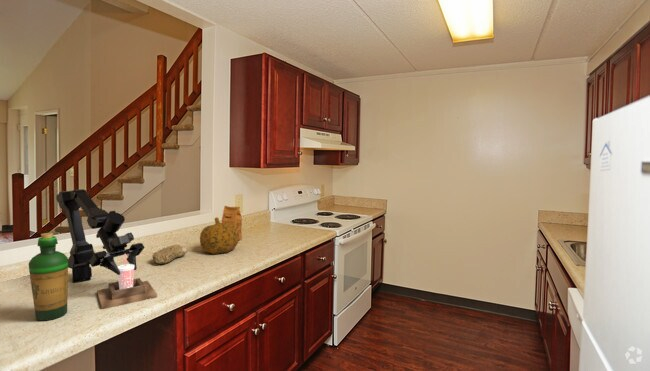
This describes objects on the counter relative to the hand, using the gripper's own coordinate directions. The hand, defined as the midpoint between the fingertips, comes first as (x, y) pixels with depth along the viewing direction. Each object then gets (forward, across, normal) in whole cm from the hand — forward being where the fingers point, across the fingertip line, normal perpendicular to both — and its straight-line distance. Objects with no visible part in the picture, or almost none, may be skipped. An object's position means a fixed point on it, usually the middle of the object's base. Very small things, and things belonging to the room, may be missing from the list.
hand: (127, 271), depth 136 cm
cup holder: (+6, 0, +8) cm, 10 cm away
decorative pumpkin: (-5, +64, +20) cm, 67 cm away
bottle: (+3, -23, +11) cm, 26 cm away
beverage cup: (+4, 0, +6) cm, 7 cm away
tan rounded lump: (-12, +38, +27) cm, 48 cm away
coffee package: (-15, +87, +30) cm, 93 cm away
